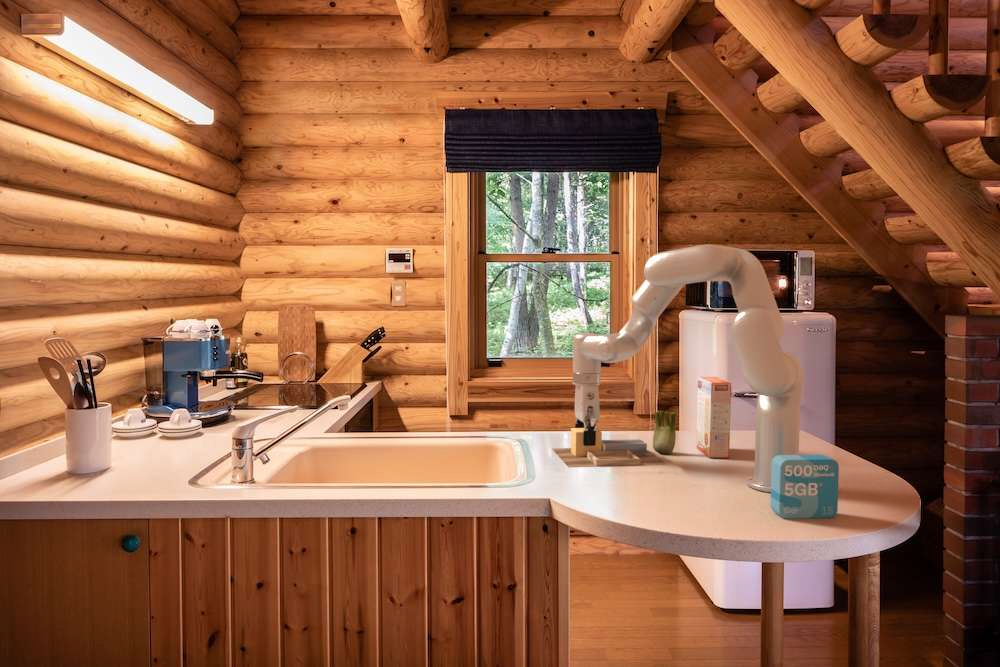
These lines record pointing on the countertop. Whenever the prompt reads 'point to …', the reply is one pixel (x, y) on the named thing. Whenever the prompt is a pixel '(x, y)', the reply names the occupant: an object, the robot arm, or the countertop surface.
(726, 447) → the cracker box
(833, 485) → the data package
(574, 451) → the block
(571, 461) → the board
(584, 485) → the countertop surface
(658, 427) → the fennel bulb
